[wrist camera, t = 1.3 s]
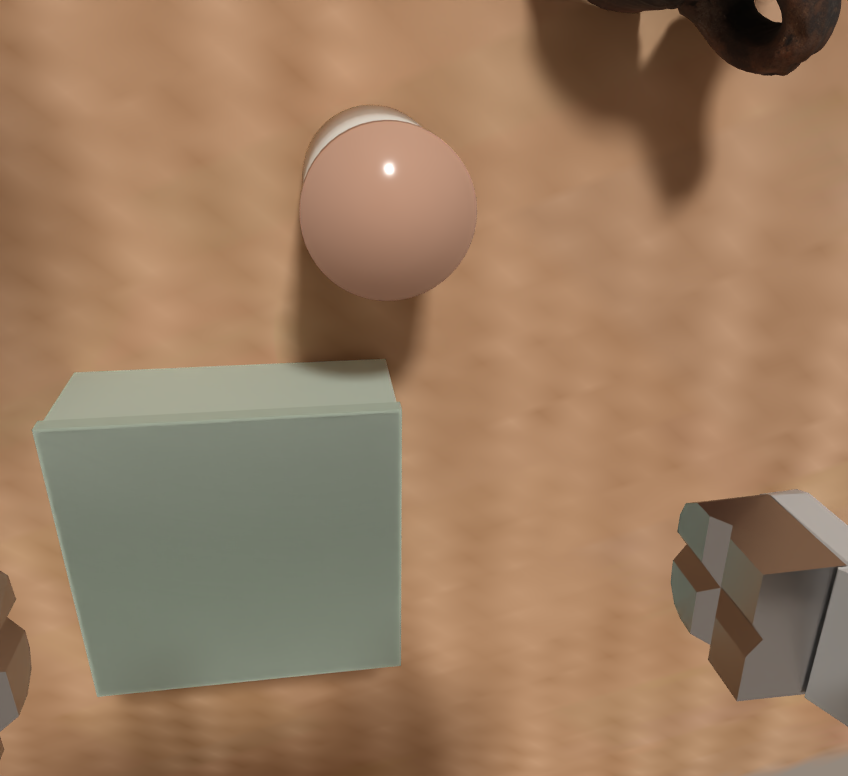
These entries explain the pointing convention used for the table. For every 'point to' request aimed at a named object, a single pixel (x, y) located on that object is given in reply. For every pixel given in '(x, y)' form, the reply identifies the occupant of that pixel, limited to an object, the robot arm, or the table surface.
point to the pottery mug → (751, 29)
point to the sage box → (229, 520)
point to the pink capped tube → (385, 204)
